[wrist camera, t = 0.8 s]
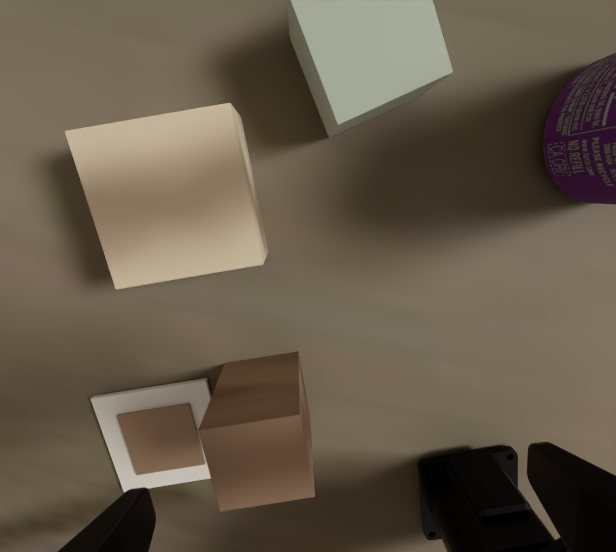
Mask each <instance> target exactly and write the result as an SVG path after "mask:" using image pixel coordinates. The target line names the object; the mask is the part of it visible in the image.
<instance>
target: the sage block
mask: <svg viewBox="0 0 616 552" xmlns="http://www.w3.org/2000/svg"><path fill="white" fill-rule="evenodd" d="M288 15H289V37H290V40H291V42H292V45H293V47H294V50H295V53H296V55H297V58H298V60H299V63H300V65H301V68H302V70H303V73H304V76H305V78H306V81H307V83H308V86H309V88H310V91H311V94H312V96H313V99H314V101H315V104H316V106H317V109H318V111H319V114H320V117H321V119H322V122H323V124H324V127H325V129H326V132H327V135H328V137H329V138H330V137H332V136H334V135H336V134H339V133H341V132H343V131H345V130H347V129H349V128H352V127H354V126H356V125H358V124H360V123H363V122H365V121H367V120H369V119H371V118H374V117H376V116H378V115H380V114H382V113H385V112H387V111H389V110H391V109H393V108H395V107H398V106H400V105H402V104H404V103H406V102H409V101H411V100H413V99H415V98H417V97H419V96H421V95H422V94H424V93H425V92H426V91H428V90H429V89H430V88H432V87H433V86H435V85H436V84H437V83H439V82H440V81H441V80H443V79H444V78H446V77H447V76H448V75H450V74H451V73H453V70H452V67H451V63H450V60H449V56H448V53H447V49H446V46H445V42H444V39H443V35H442V32H441V28H440V25H439V21H438V18H437V14H436V11H435V7H434V4H433V0H288Z"/></svg>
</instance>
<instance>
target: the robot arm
mask: <svg viewBox="0 0 616 552" xmlns="http://www.w3.org/2000/svg"><path fill="white" fill-rule="evenodd" d="M508 454H509V455H508ZM425 467H427V468H425ZM424 468H425V469H424ZM527 476H528V479H529V482H530V484H531V486H532V488H533V490H534V491H535V493H536V495H537V497H538V498H539V500H540V502H541V504H542V505H543V507H544V509H545V511H546V512H547V514H548V516H549V518H550V519H551V521H552V523H553V525H554V526H555V528H556V530H557V532H558V533H559V535H560V538H558V539H556V540H555V539H554V537H553V536H552V535H551V533H550V532H549V531H548V529H547V528H546V527H545V525H544V524H543V523H542V521H541V520H540V519H539V517H538V516H537V515H536V513H535V512H534V511H533V509H532V508H531V507H530V504H529V503H528V501H527V500H526V499H525V497H524V496H523V495H522V493H521V492H520V491H519V489H518V455H517V453H516V452H515V450H514V449H513V448H512V447H510V446H505V447H498V448H492V449H486V450H479V451H473V452H467V453H460V454H454V455H448V456H442V457H435V458H429V459H424V460H421V461H420V462H419V463H418V478H419V489H420V501H421V512H422V524H423V531H424V534H425V537H426V538H427V539H428V540H437V539H442V540H443V543H444V545H445V547H446V550H447V552H616V476H615V475H613V474H611V473H609V472H607V471H605V470H603V469H601V468H599V467H597V466H595V465H593V464H591V463H589V462H587V461H585V460H583V459H581V458H579V457H578V456H576V455H574V454H572V453H570V452H568V451H566V450H564V449H562V448H560V447H558V446H556V445H554V444H552V443H549V442H539V443H532V444H530V445H529V447H528V459H527ZM155 523H156V515H155V510H154V507H153V503H152V499H151V495H150V492H149V490H148V489H147V488H145V487H143V488H134V489H129V490H128V491H126V492H125V493H124V494H123V495H122V496H120V497H119V498H118V499H117V500H116V501H115V502H114V503H112V504H111V505H110V506H109V507H108V508H107V509H106V510H105V511H103V512H102V513H101V514H100V515H99V516H98V517H97V518H95V519H94V520H93V521H92V522H91V523H90V524H89V525H87V526H86V527H85V528H84V529H83V530H82V531H81V532H79V533H78V534H77V535H76V536H75V537H74V538H73V539H72V540H70V541H69V542H68V543H67V544H66V545H65V546H64V547H62V548H61V549H60V550H59V551H58V552H148V551H149V547H150V544H151V540H152V536H153V532H154V528H155Z"/></svg>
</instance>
